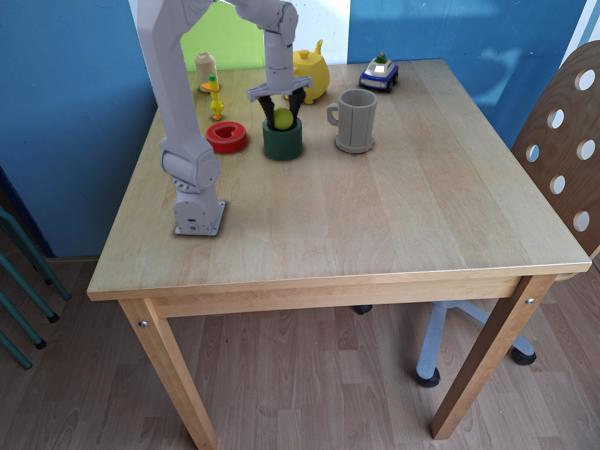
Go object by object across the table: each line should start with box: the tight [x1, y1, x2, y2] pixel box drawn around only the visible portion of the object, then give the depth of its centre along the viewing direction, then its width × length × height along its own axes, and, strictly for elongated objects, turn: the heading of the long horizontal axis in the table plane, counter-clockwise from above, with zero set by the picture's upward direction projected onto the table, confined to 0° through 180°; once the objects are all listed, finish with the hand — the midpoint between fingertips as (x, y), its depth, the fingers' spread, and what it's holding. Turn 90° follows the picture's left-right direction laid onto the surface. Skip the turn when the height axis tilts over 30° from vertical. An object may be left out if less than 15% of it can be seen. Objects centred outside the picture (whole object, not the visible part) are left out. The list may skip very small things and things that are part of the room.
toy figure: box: [201, 74, 225, 121], centre depth 108 cm, size 7×4×12 cm, turn 57°
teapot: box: [284, 39, 331, 105], centre depth 117 cm, size 13×20×12 cm
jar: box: [261, 116, 303, 162], centre depth 98 cm, size 9×9×7 cm
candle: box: [194, 51, 220, 93], centre depth 121 cm, size 6×6×10 cm
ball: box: [274, 106, 293, 130], centre depth 95 cm, size 5×5×5 cm
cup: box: [326, 88, 379, 154], centre depth 98 cm, size 10×9×12 cm
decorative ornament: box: [205, 120, 248, 154], centre depth 102 cm, size 10×10×3 cm
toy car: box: [358, 51, 400, 93], centre depth 121 cm, size 9×12×10 cm
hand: (282, 122), depth 96 cm, fingers closed on ball, 5 cm apart
